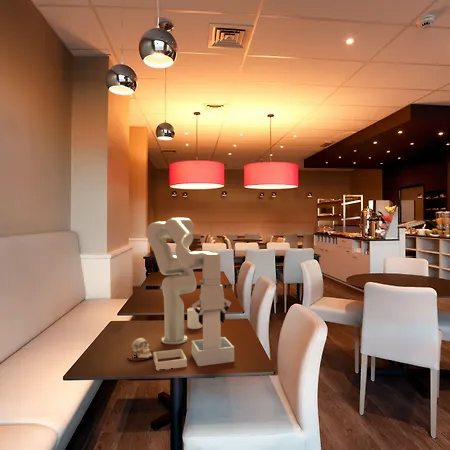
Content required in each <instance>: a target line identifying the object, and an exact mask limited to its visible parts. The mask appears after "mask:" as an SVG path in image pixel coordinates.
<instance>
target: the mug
mask: <svg viewBox="0 0 450 450" xmlns="http://www.w3.org/2000/svg"><path fill="white" fill-rule="evenodd" d="M196 307H197V309H198V310H199V309H200V308H201V307H200V306H199V307H198V306H196ZM186 311H187V315H186V316H187V329H191V330H197V329H201V328H203V325H201V324H200V322H199V314H198V313H197V312H196V311H195V310H194V308H193V307H192V306H191V307H189V308H187V310H186Z"/></svg>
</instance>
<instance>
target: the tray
mask: <svg viewBox="0 0 450 450" xmlns="http://www.w3.org/2000/svg"><path fill="white" fill-rule="evenodd" d="M179 357H180V358H179ZM170 358H171V359H172V360H163V359H170ZM173 358H179V359H173ZM159 360H162V361H159ZM153 362H154V367H155V366H156V367H155V370H157V371H160V370H159V369H165V370H171V368H173V369H179V368H187V366H188V359H187V356H186V354H185V353H184V351H183V348H177V349H176V348H175V349H169V350H160V351H153Z"/></svg>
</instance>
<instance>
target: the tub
mask: <svg viewBox="0 0 450 450" xmlns="http://www.w3.org/2000/svg"><path fill="white" fill-rule="evenodd" d="M191 356H192V357H193V359H194V361H195V363H196V365H197V367H203V366H210V365H218V364H220V365H221V364H225V363H233V362H234V363H235V346H234V345H233V344H232V343H231V342H230V340H228V339H227V337H226V336H224V337H223V336H221V348H216V349H207V350H203V339H195V340H191Z"/></svg>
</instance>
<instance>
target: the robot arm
mask: <svg viewBox="0 0 450 450" xmlns="http://www.w3.org/2000/svg"><path fill="white" fill-rule="evenodd" d="M194 229H195V224H194V222H193V221H192V220H191V219H190V218H188V217H170V218H169V219H167V220H166V221H155V222H152V223H150V224H149V225H148V226H147V229H146V239H147V241H148V243H149V245H150V246H149V247H150V248H151V249H152V252H153V253H154V257H155V261H156V263H157V266H158V269H159V272H160V273H161V274H162V275H164V276H166V277H165V278H163V280H162V282H161V290H162V295H163V305H164V306H163V309H164V312H163V313H164V314H163V315H164V325H163V326H164V336H162V337H161V338H160V339H161V343H163V344H165V345H181V344H184V343H185V342H187V341H188V336H187V335H185V305H184V304H185V302H184V301H183V299H182V298H181V296H180V295H184V294H190V293H193V292H195V290H196V289H197V279H196V276H195V272H194V270H197V269H202V278H201V279H199V283H200V284H202V285H200V290H199V299H198V300H196V301H195V302H193V303H192V304H191V308H192V307H193V308H194V310H195V311H196V312H197V313H198V314H199V322H200V324H201V325H202V326H203V312H204V310H217V309H220V323H223V324H224V323H225V319H226V312H227V311H228V310H229V309H230V306H231V304H232V302H231V301H230V300H228V299H226V298H225V293H224V286H223V284H221V255H220V253H218V252H211V251H207V250H201V251H188V250H187V249H188V247H190V246H191V244H192V243H193V241H194V235H193V234H192V233H194ZM164 239H171V240H173V242H174V243H175V244H176V245H175V250H174V251H175V255H174V253H173V252H172V249H171V246H170V245H169V243H167V242H166V241H165V240H164ZM225 303H226V305H225ZM198 306H199V308H200V309H199V310H198V309H197V307H198Z"/></svg>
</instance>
